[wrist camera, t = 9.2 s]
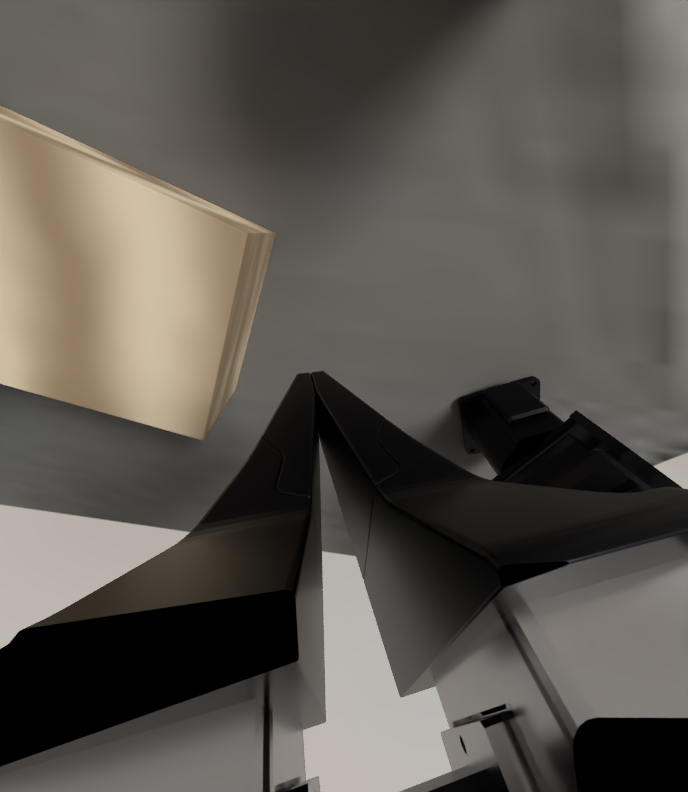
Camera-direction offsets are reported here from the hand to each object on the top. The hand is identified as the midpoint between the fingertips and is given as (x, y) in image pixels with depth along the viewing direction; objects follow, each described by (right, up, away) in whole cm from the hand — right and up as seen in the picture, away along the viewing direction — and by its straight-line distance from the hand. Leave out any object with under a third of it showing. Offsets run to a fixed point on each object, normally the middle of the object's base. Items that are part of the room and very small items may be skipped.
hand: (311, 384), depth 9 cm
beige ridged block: (-12, +7, +9) cm, 17 cm away
